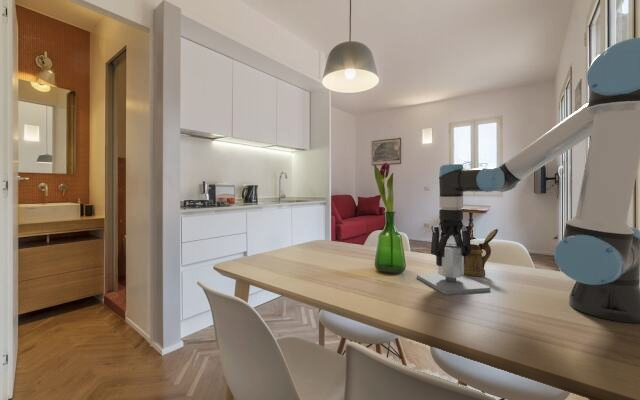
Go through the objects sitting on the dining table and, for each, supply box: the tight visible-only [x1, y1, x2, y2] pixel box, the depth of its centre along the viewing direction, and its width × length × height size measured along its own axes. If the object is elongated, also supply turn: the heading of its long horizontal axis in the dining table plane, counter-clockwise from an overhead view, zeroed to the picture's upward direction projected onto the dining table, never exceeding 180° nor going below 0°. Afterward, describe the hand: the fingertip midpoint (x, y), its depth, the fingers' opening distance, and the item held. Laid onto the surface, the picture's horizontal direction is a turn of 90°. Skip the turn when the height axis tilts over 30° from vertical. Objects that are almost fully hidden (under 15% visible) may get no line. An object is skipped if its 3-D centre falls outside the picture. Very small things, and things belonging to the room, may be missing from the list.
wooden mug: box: [463, 228, 499, 277], centre depth 111 cm, size 9×14×18 cm, turn 71°
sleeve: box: [442, 244, 462, 278], centre depth 99 cm, size 7×7×10 cm
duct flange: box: [416, 272, 492, 296], centre depth 99 cm, size 18×16×8 cm
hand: (450, 274), depth 99 cm, fingers closed on sleeve, 7 cm apart
